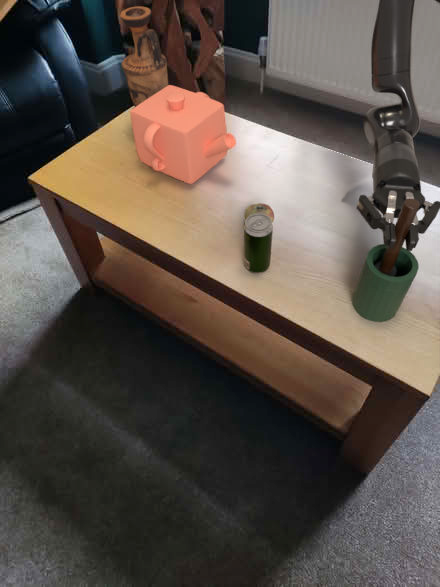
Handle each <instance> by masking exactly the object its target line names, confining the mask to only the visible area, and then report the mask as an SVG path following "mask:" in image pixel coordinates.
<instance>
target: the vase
mask: <svg viewBox="0 0 440 587" xmlns="http://www.w3.org/2000/svg"><path fill="white" fill-rule="evenodd" d="M151 16H152V10H151V9H150V8H149V7H146V6H138V5H137V6H131V7H128V8H125V9H124V10H122V11H121V12H120V14H119V18H120V19H121V20H122V22H123V23H124V25H125V27H127V28H129V29H130V31H131V34H132V39H133V43H134V44H133V45H134V53H132V54H129V55H127V56H126V57H124V58H123V59H122V62H121V68H122V70H123V74H124V77H125V80H126V85H127V87H128V90H129V91H128V92H129V94H130V99H131V101H132V104H133V107H134V108H135V107H136V106H138V105H139V104H141V103H142V102H144V101H145V100H146V99H148V98H150V97H151V96H153V95H154V94H156V93H157V92H159V91H160V90H162V89H164V88H165V87H167V86H168V85H169V76H168V63H167V57H166V56H165V55H164V54H163V53H162V49H161V47H160V40H159V36H158V34H157V32H156V31H155V29H153V28H147V27H148V24H149V23H150V20H151Z"/></svg>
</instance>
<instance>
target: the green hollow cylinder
mask: <svg viewBox="0 0 440 587" xmlns="http://www.w3.org/2000/svg"><path fill="white" fill-rule="evenodd" d="M386 248H387V245H385V244H384V243H381V244H377V245H376V246H375V245H374V246H373V247H372V248H370V250H368V251H367V254H366V257H365V260H364V262H363V265H362V268H361V271H360V274H359V277H358V280H357V282H356V285H355V288H354V292H353V295H352V298H351V301H352V302H351V304H352V306H353V309H354V311H355V312H356V313H357V314H358V315H359V316H360V317H362V318H364V319H365V320H368V321H371V322H376V323H382V322H383V323H384V322H388V321H390V320H391V319H393V318H394V317H395V316H396V315H397V313H398V311H399V310H400V307H401V306H402V304H403V301H404V300H405V298H406V296H407V294H408V292H409V291H410V290H409V289H410V288H411V286H412V285H413V284H412V283H413V282H414V280H415V278H416V276H417V274H418V272H419V261H418V259H417V258H416V256H415V255H414V253H412V251H407V250H406V247H404V246H402V248H401V251H400V253H399V256H398V258H397V260H396V263H395V265H394V266H395V267H396V270H397V273H396V275H395V277H392V276H388V275H385V274H383V273H381V272H379V271H378V270H377V269H376V268H375V264H376V263H378V262H381V261H382V258H383V256H384V253H385V251H386Z"/></svg>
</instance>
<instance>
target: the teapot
mask: <svg viewBox="0 0 440 587" xmlns="http://www.w3.org/2000/svg"><path fill="white" fill-rule="evenodd" d="M129 113H130V120H131V127H132V134H133V140H134V144H135V145H134V146H135V150H136V153H137V156H138V159H139V162H141V163H143V164H145V165H147V166H149V167H150V168H152V169H153V170H154V171H156V172H161V173H163V174H165V175H167V176H169V177H172V178H174V179H177V180H178V181H180V180H181V181H180V182H182V181H184V182H183V183H185V184H186V183H187V184H189V185H193V184H194V183H196V182H197V181H198V180H200V178H202V177H203V176H204V175H206V173H207V172H209V171H210V170H211V169H212V168H213V167H215V166H216V165H217V164H218V163H219V162H220V161H221V160H222V159H224V158H225V157H226V156H227V154H228V151H230V150H231V149H234V148H235V147H236V144H237V139H236V137H235V136H234V134H233V133H231V132H227V120H226V113H225V105H224V104H223V103H222V102H220V101H218V100H216V99H213V98H211V97H210V96H209V95H208V94H207V93H205V92H203V91H196V92H194V91H190V90H187V89H186V88H182V87H179V86H175V85H172V84H168V86H167V87H165V88H164V89H162V90H160V91H159V92H157V93H156V94H154V95H153V96H151V97H150V98H148V99H146V100H145V101H144V102H142V103H141V104H139V105H138V106H136V107H135V106H134V107H133V108H132V109H130V111H129Z"/></svg>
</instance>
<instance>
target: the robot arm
mask: <svg viewBox="0 0 440 587" xmlns="http://www.w3.org/2000/svg"><path fill="white" fill-rule="evenodd" d="M433 1H434V2H435V3H437V4H438V5H440V0H433ZM415 3H416V0H379V1H378V7H377V13H376V18H375V22H374V27H373V32H372V37H371V46H370V66H371V88H372V90H373V91H374V92H375V93H379V94H392V95H396V96H397V97H398V98H399V100H400V102H397V103H391V104H384V105H378V106H377V105H376V106H374V107H372V108H370V109H368V111H367V112H366V113H365V115H364V117H363V120H362V132H363V135H364V138H365V139H366V142H367V143H368V145H369V146H370V148H371V150H372V152H373V165H372V174H371V177H372V185H373V186H372V188H373V190H372V191H373V192H372V195H371V196H367V195H365V194H360V195H359V197H358V200H357V205H356V210H357V211H358V213H359V214H360V215H361V216H362V218H363V219H364V221H365V222H366V223H367V225H368V226H369V227H370V228H371V229H372V230H377V229H379V230H381V232H382V240H383V241H382V242H383V243H382V244H385V245H387V247H388V249H393V247H394V245H395V242H396V232H395V224H396V223H394V219H398V217H399V214H400V211H401V209H402V206H403V203H404V201H405V200H406V199H415V200H417V201H418V202H419V203H420V206H419V208H418V211H417V213H416V215H415V218H414V220H413V223H412V225H411V227H410V230H409V232H408V234H407V237H406V239H405V241H404V242H405V249H406V250H407V251H410V252H412V251H413V249H416V247H417V245H418V243H419V241H420V237H419V234H421V235H422V234H423V235H424V234H425V233H426V232H427V230H428V229H429V227H430V226H431V224H432V223H433V222H434V221H435V219H436V217H437V216H438V213H439V212H440V200H435V201H433V203H432V202H430V201H428V200H426V197H425V196H424V194H423V193H422V186H421V179H420V178H421V177H420V170H419V164H418V159H417V156H416V154H415V146H414V140H413V138H414V137H415V136H416V135H417V133H418V132H419V130H420V127H421V116H420V111H419V108H418V104H417V100H416V97H415V93H414V89H413V88H414V87H413V81H412V63H413V62H412V61H413V59H412V58H413V56H412V55H413V26H414V25H413V23H414V14H415V12H414V11H415V5H416V4H415ZM421 209H423V217H422V219H420V220H419V218H418V215H417V214H418V212H419V211H420V210H421Z"/></svg>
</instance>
